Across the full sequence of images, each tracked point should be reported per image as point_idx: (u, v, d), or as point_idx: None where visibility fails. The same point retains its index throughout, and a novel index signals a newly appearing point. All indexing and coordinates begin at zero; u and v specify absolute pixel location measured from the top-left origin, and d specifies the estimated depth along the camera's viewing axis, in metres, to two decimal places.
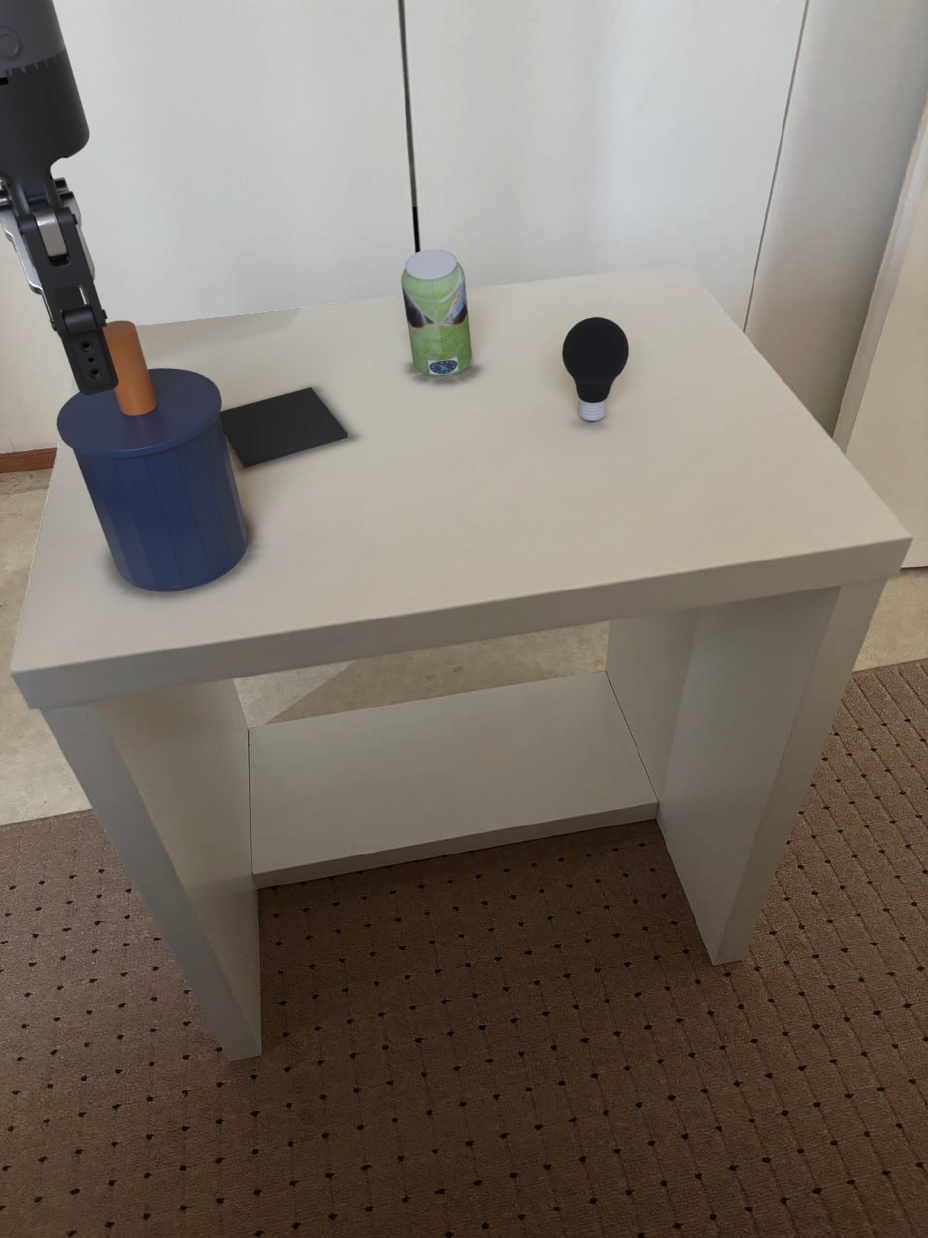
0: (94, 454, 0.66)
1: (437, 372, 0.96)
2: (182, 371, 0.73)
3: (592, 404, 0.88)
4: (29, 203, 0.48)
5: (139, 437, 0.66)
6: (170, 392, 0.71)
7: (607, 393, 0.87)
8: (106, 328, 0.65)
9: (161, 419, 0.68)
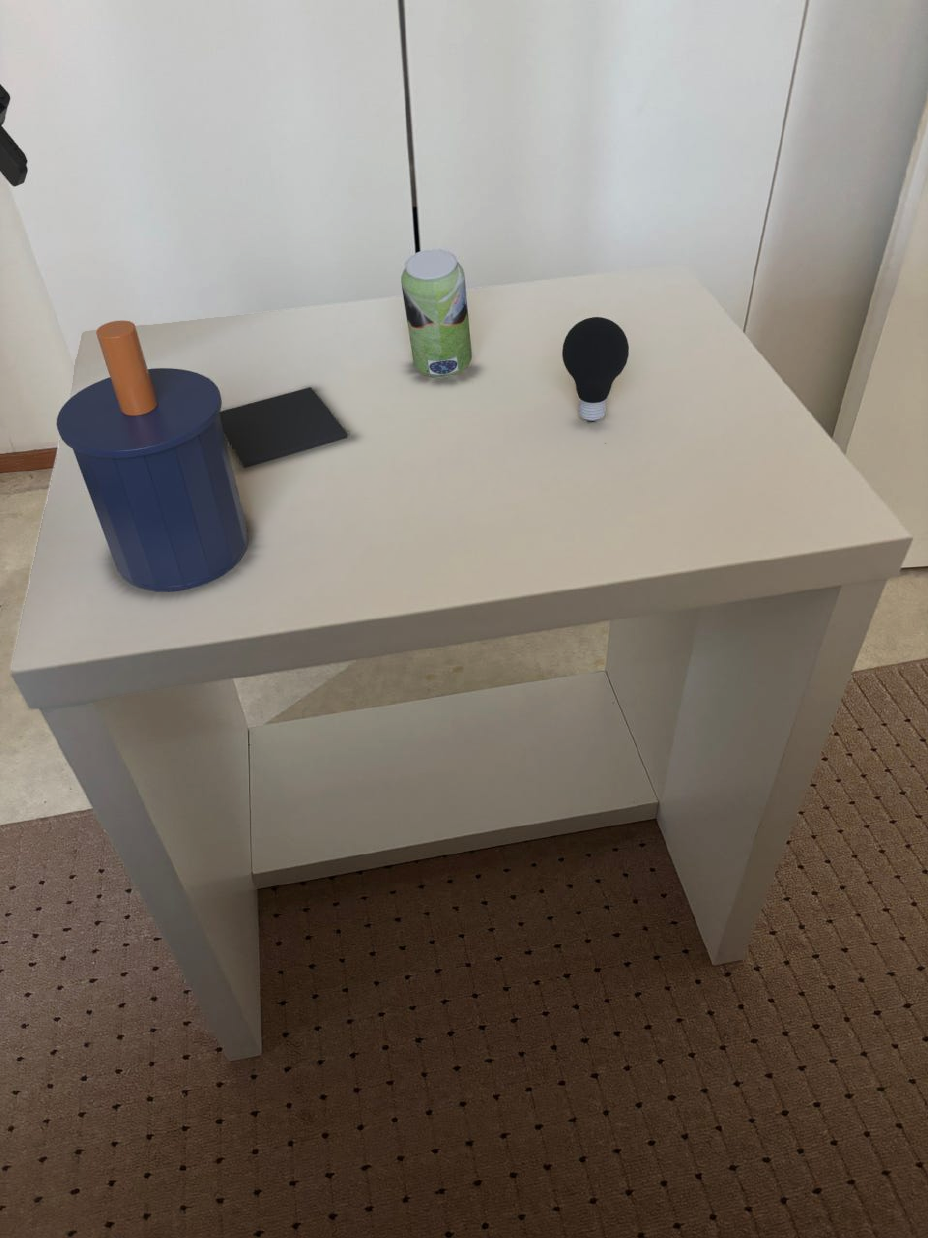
0: (94, 454, 0.66)
1: (437, 372, 0.96)
2: (182, 371, 0.73)
3: (592, 404, 0.88)
4: None
5: (139, 437, 0.66)
6: (170, 392, 0.71)
7: (607, 393, 0.87)
8: (106, 328, 0.65)
9: (161, 419, 0.68)
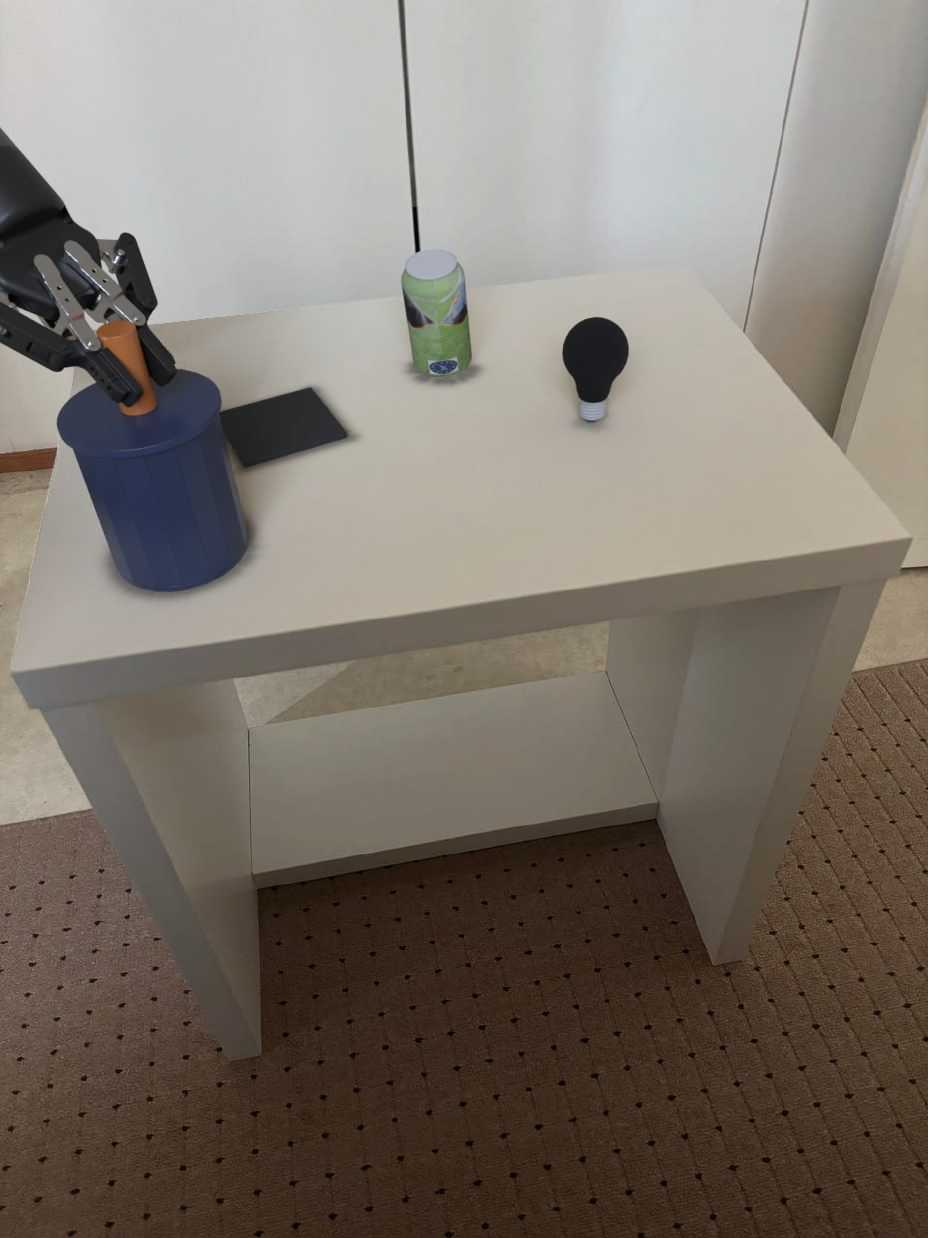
0: (94, 454, 0.66)
1: (437, 372, 0.96)
2: (182, 371, 0.73)
3: (592, 404, 0.88)
4: None
5: (139, 437, 0.66)
6: (170, 392, 0.71)
7: (607, 393, 0.87)
8: (106, 328, 0.65)
9: (161, 419, 0.68)
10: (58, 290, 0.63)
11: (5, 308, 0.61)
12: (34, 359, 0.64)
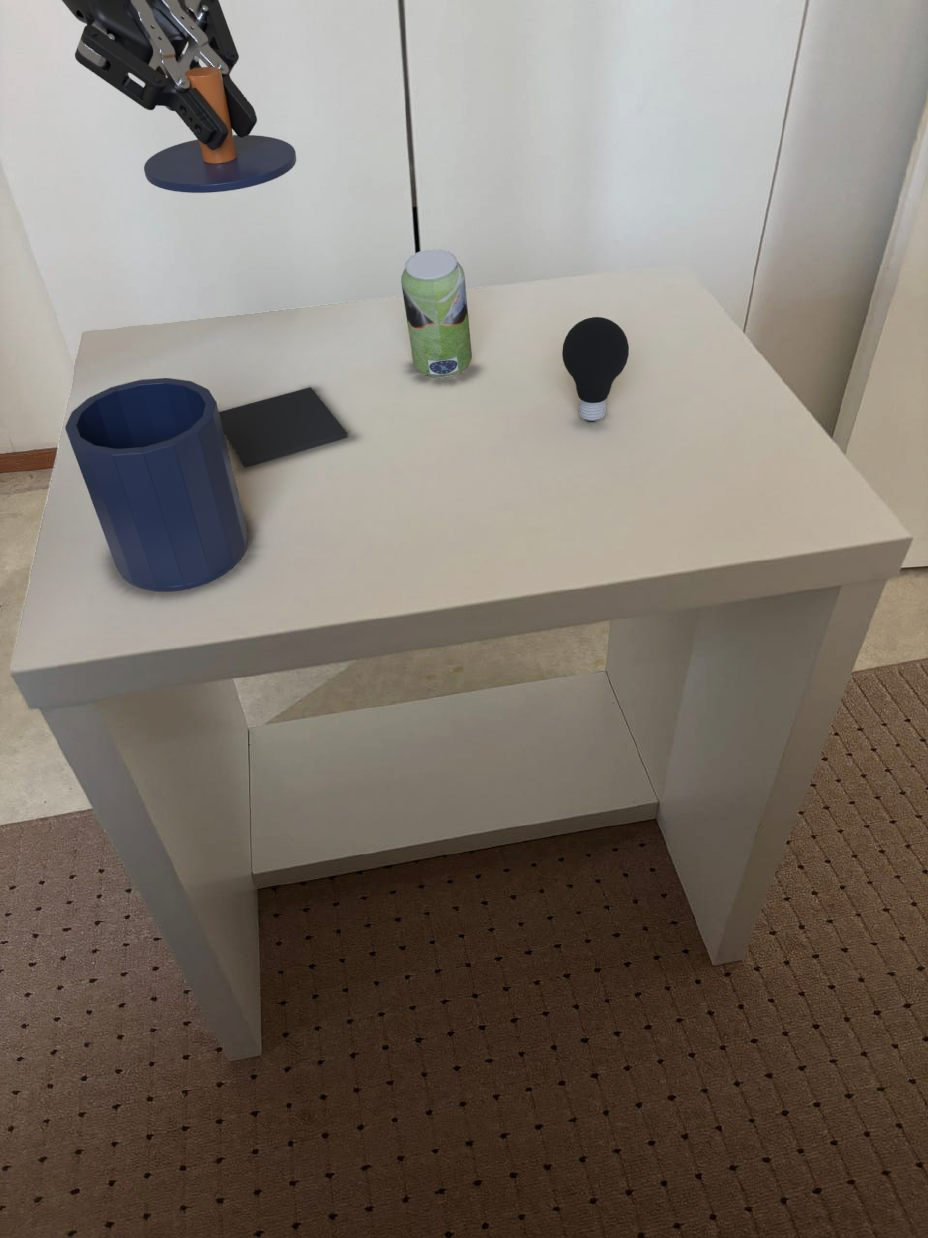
0: (182, 189, 0.71)
1: (437, 372, 0.96)
2: (256, 136, 0.78)
3: (592, 404, 0.88)
4: None
5: (223, 176, 0.71)
6: (247, 149, 0.76)
7: (607, 393, 0.87)
8: (194, 71, 0.70)
9: (242, 164, 0.73)
10: (152, 28, 0.68)
11: (105, 37, 0.66)
12: (129, 94, 0.69)
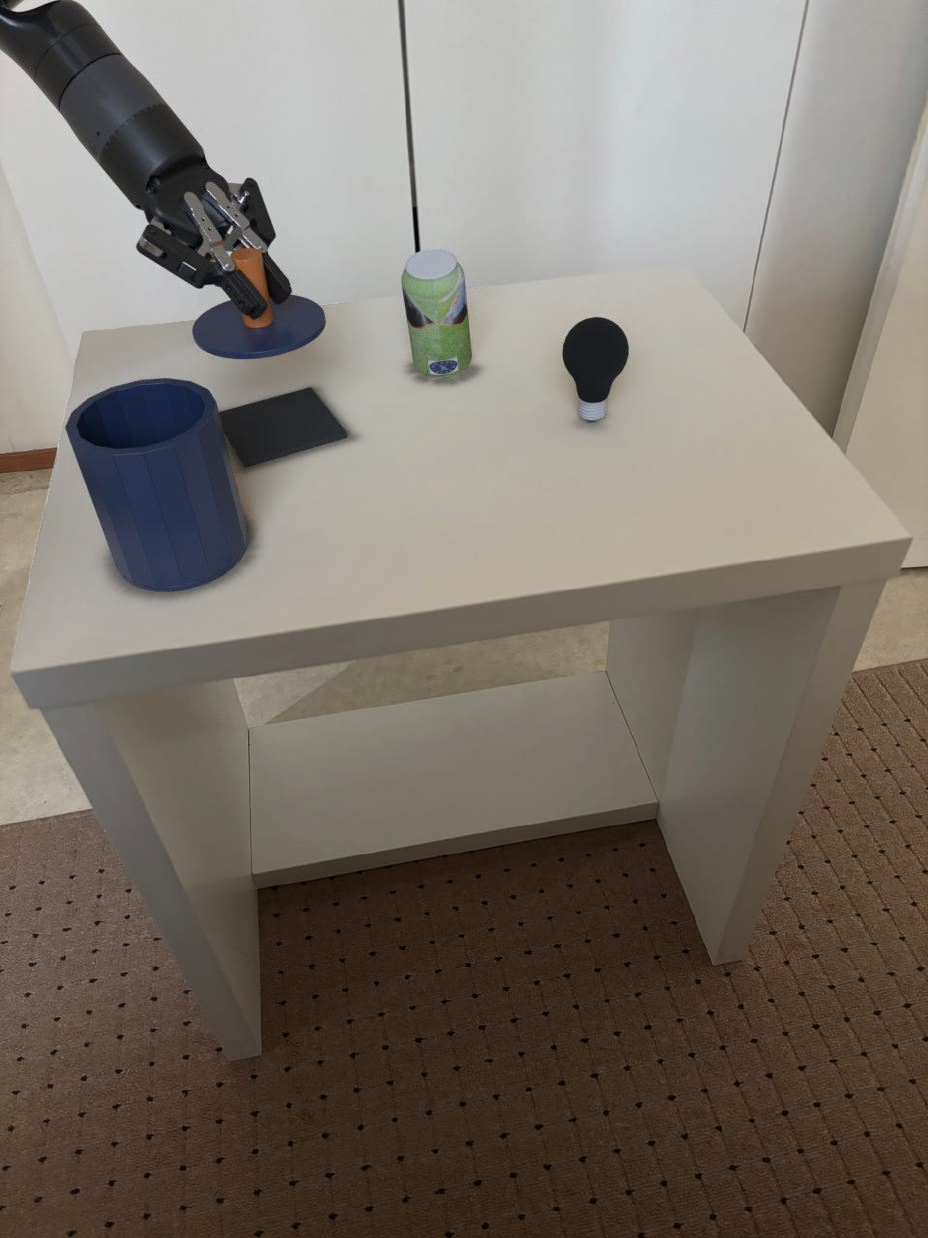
0: (227, 356, 0.81)
1: (437, 372, 0.96)
2: (289, 295, 0.88)
3: (592, 404, 0.88)
4: None
5: (263, 343, 0.81)
6: (282, 311, 0.86)
7: (607, 393, 0.87)
8: (238, 253, 0.80)
9: (279, 330, 0.83)
10: (202, 221, 0.78)
11: (163, 234, 0.77)
12: (182, 277, 0.79)
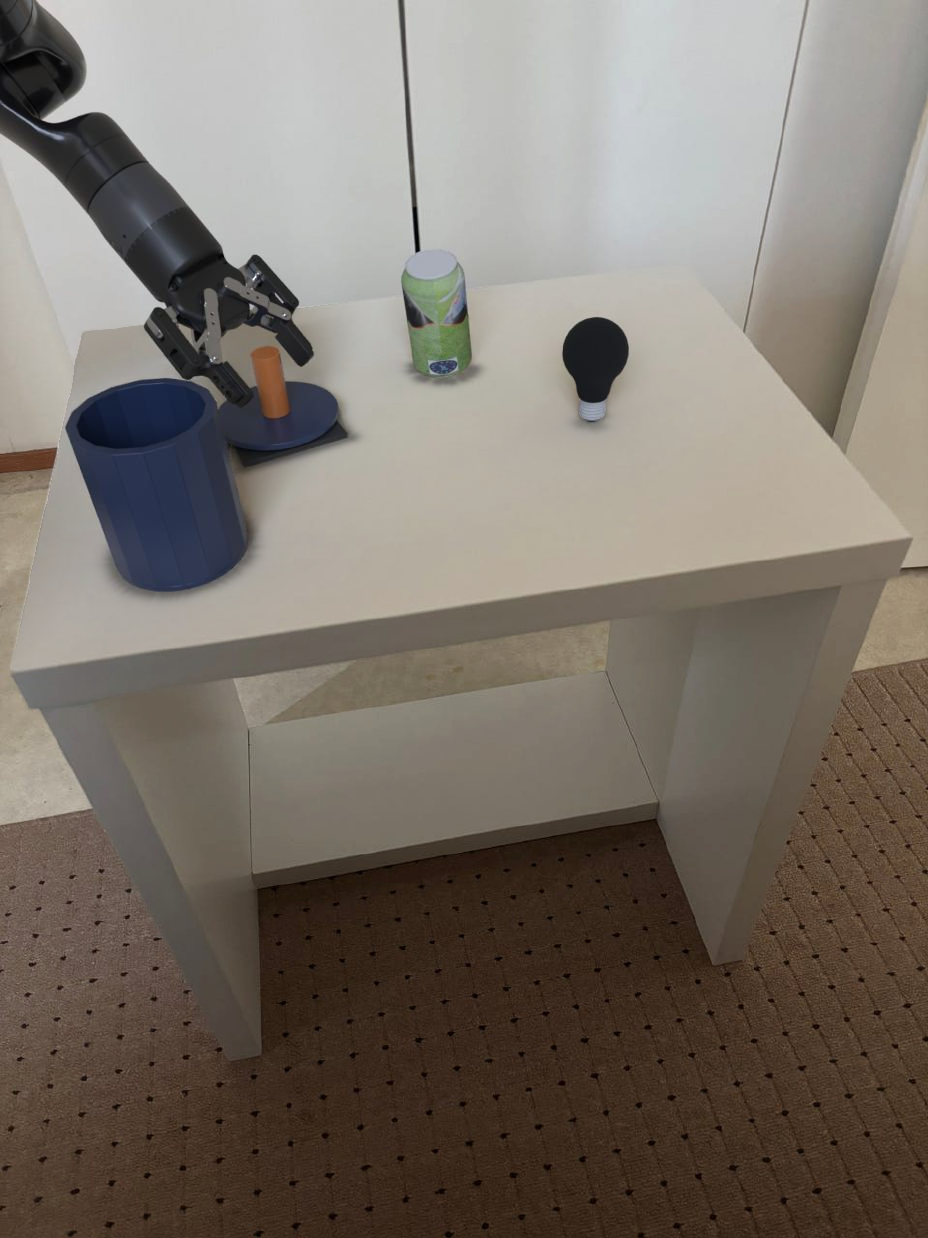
0: (248, 447, 0.87)
1: (437, 372, 0.96)
2: (304, 383, 0.94)
3: (592, 404, 0.88)
4: None
5: (281, 434, 0.87)
6: (298, 400, 0.92)
7: (607, 393, 0.87)
8: (257, 352, 0.87)
9: (295, 421, 0.89)
10: (210, 315, 0.83)
11: (168, 319, 0.81)
12: (172, 363, 0.83)
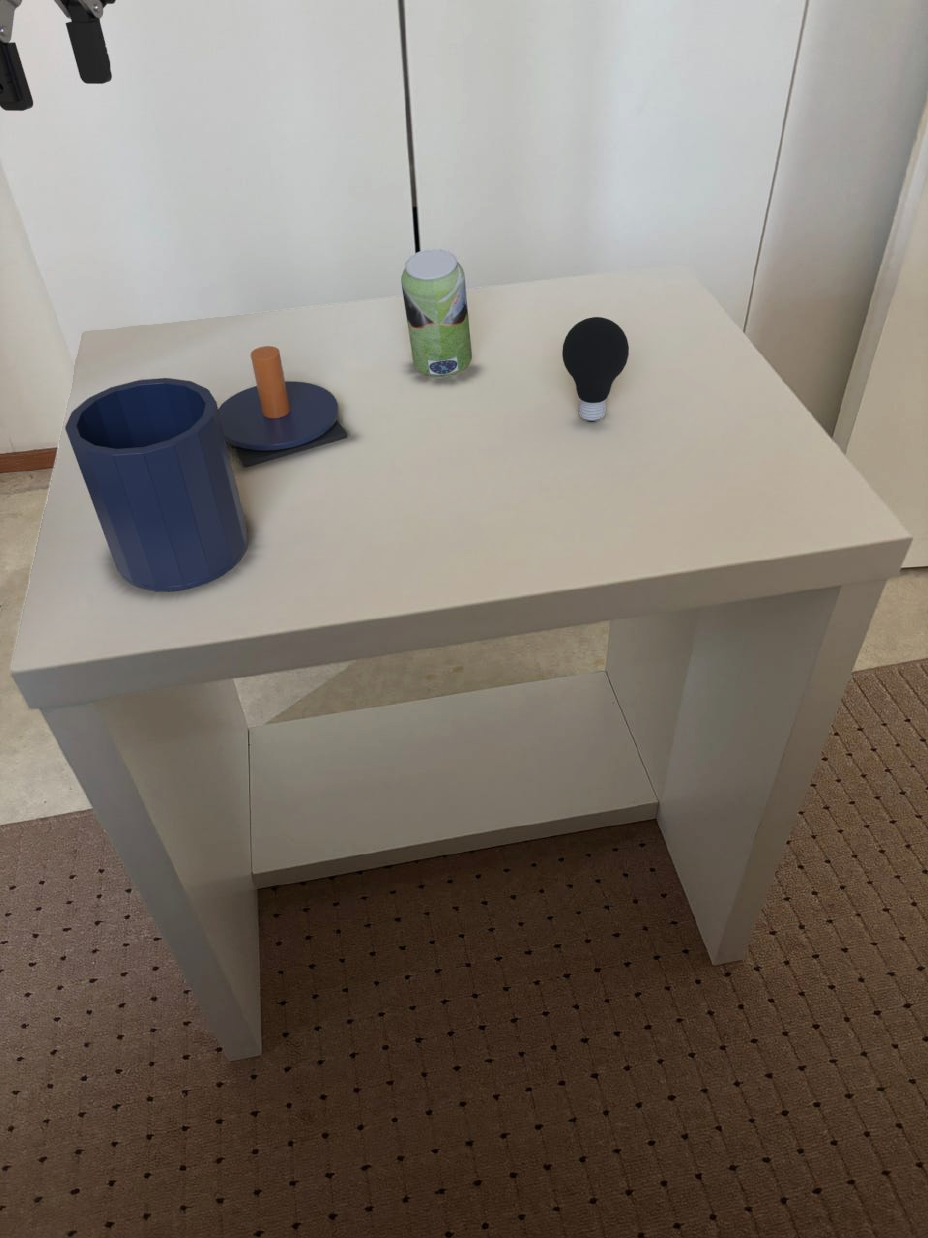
0: (248, 447, 0.87)
1: (437, 372, 0.96)
2: (304, 383, 0.94)
3: (592, 404, 0.88)
4: None
5: (281, 434, 0.87)
6: (298, 400, 0.92)
7: (607, 393, 0.87)
8: (257, 352, 0.87)
9: (295, 421, 0.89)
10: None
11: None
12: None
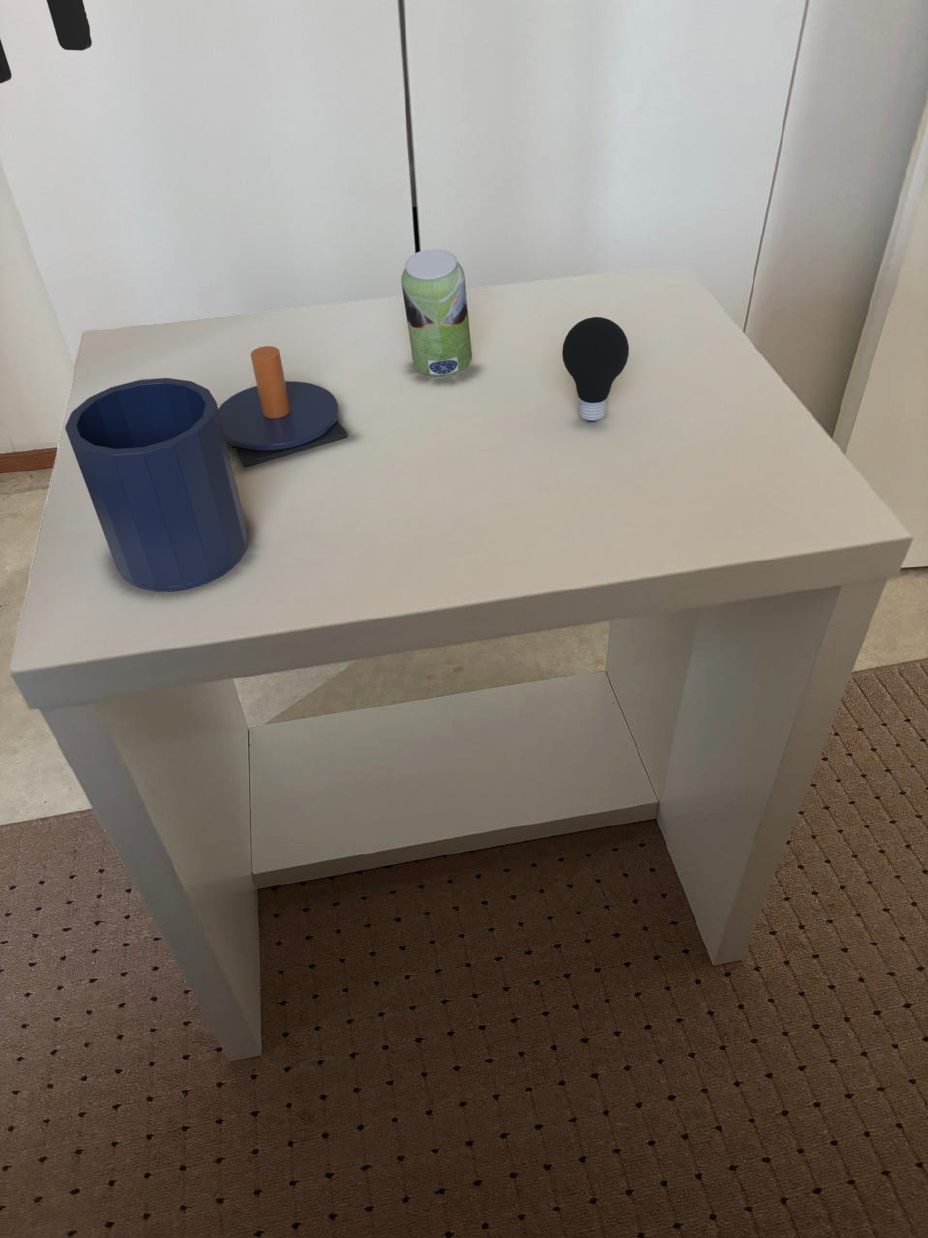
0: (248, 447, 0.87)
1: (437, 372, 0.96)
2: (304, 383, 0.94)
3: (592, 404, 0.88)
4: None
5: (281, 434, 0.87)
6: (298, 400, 0.92)
7: (607, 393, 0.87)
8: (257, 352, 0.87)
9: (295, 421, 0.89)
10: None
11: None
12: None
